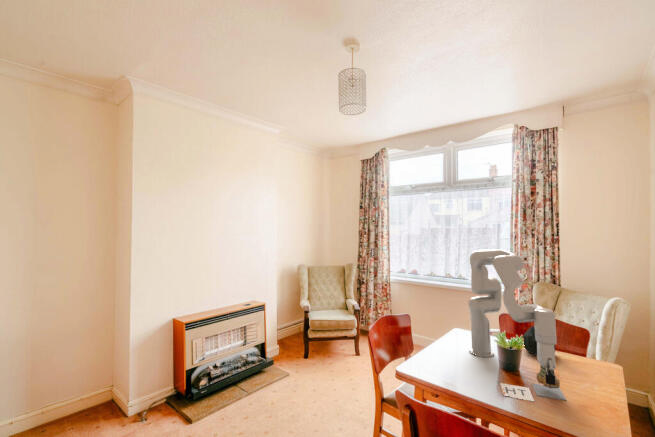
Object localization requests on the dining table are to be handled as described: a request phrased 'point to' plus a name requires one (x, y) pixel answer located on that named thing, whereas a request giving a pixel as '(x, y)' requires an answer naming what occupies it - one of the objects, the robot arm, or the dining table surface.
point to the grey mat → (548, 392)
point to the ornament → (542, 379)
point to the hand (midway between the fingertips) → (547, 378)
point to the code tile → (517, 392)
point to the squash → (531, 341)
